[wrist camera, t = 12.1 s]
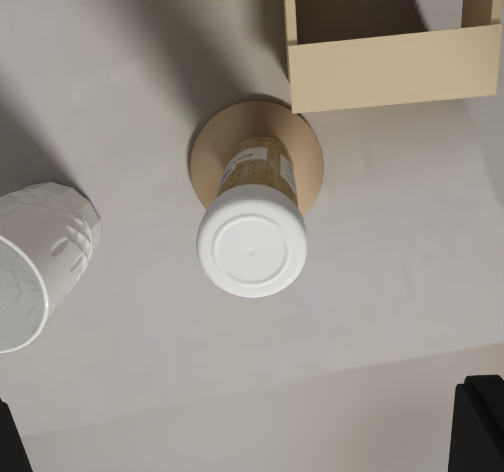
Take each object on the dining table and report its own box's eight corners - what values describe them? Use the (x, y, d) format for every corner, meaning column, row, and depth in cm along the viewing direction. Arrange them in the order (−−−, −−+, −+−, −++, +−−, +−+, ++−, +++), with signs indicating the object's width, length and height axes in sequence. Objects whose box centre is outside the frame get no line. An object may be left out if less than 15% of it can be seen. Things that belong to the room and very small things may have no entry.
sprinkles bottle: (234, 128, 30) (205, 184, 17) (302, 144, 30) (323, 212, 17) (220, 193, 31) (185, 288, 19) (284, 209, 31) (291, 312, 19)
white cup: (-4, 169, 32) (-118, 217, 23) (107, 177, 32) (38, 229, 22) (11, 269, 35) (-84, 348, 26) (113, 277, 35) (55, 359, 25)
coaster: (320, 94, 29) (321, 94, 28) (325, 225, 32) (325, 227, 32) (182, 107, 30) (180, 108, 29) (200, 234, 33) (199, 237, 33)
